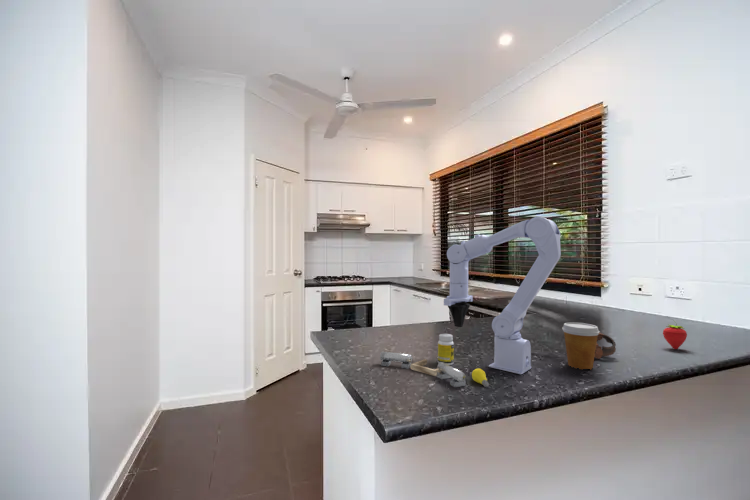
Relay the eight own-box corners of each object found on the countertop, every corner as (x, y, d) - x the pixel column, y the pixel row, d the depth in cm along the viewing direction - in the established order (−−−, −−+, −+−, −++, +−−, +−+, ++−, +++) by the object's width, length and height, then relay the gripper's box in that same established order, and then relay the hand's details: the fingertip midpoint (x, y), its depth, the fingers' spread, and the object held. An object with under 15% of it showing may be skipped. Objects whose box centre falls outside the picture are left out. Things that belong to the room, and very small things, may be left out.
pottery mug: (609, 354, 120) (618, 335, 115) (609, 373, 112) (619, 355, 108) (569, 341, 124) (577, 323, 120) (568, 359, 117) (575, 340, 113)
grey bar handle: (412, 365, 104) (412, 353, 104) (410, 368, 101) (410, 356, 101) (382, 362, 107) (382, 350, 107) (379, 365, 104) (379, 353, 104)
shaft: (436, 376, 95) (436, 362, 95) (446, 374, 96) (446, 361, 96) (455, 388, 87) (456, 373, 87) (466, 386, 88) (466, 371, 88)
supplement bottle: (453, 366, 104) (454, 337, 104) (437, 365, 105) (437, 336, 105) (453, 361, 108) (453, 333, 108) (437, 360, 109) (438, 332, 109)
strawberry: (657, 347, 126) (657, 319, 127) (673, 346, 128) (673, 318, 128) (675, 352, 121) (675, 322, 121) (692, 350, 123) (692, 321, 123)
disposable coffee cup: (602, 366, 105) (602, 325, 105) (595, 374, 98) (595, 330, 98) (566, 359, 111) (566, 321, 111) (557, 366, 104) (558, 325, 104)
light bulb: (477, 378, 94) (483, 366, 93) (489, 393, 88) (496, 381, 87) (467, 376, 93) (472, 364, 92) (478, 390, 87) (485, 378, 86)
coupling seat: (448, 370, 100) (448, 365, 100) (434, 376, 95) (435, 370, 95) (424, 363, 106) (425, 359, 106) (410, 369, 101) (410, 364, 101)
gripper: (459, 281, 120) (458, 321, 120) (435, 283, 110) (434, 327, 110) (478, 282, 115) (478, 324, 115) (455, 285, 105) (455, 331, 105)
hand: (458, 326), depth 112 cm, fingers closed
